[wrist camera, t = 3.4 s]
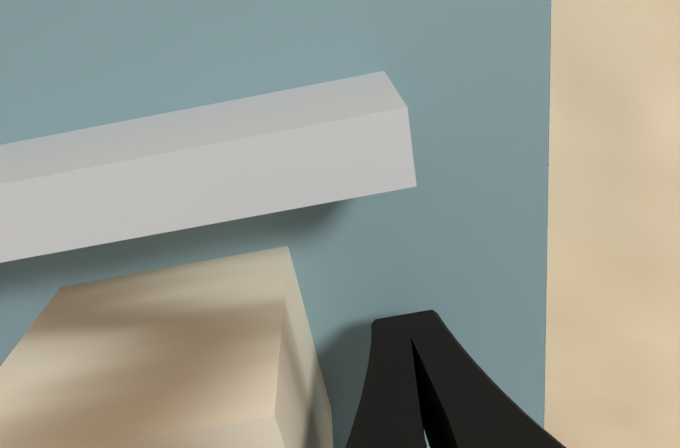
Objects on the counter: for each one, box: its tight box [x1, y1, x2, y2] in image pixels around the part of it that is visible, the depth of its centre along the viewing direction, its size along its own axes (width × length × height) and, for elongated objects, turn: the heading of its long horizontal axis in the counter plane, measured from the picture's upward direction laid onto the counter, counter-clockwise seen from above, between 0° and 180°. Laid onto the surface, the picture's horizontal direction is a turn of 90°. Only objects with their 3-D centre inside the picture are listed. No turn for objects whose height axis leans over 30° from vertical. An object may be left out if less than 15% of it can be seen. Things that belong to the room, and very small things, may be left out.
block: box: [0, 246, 333, 448], centre depth 10 cm, size 5×5×4 cm
